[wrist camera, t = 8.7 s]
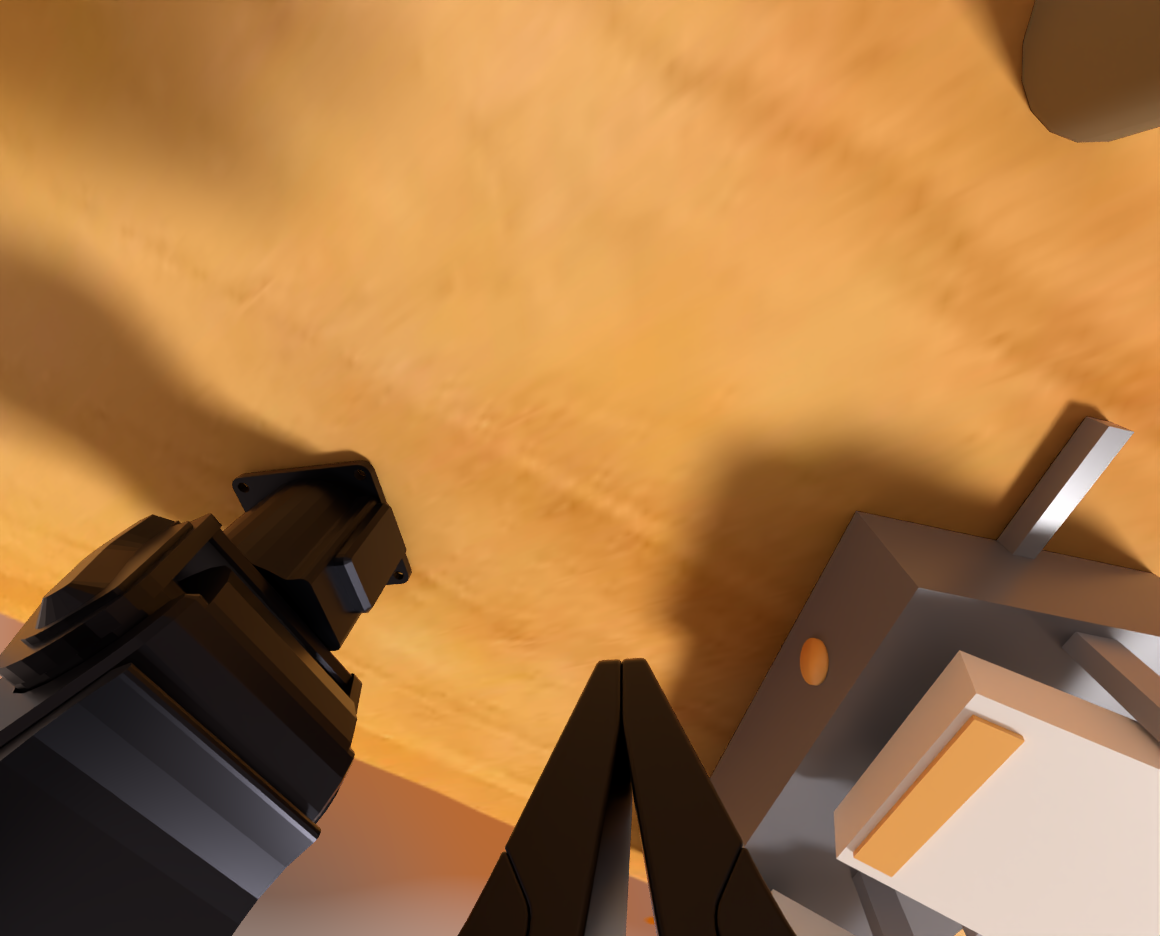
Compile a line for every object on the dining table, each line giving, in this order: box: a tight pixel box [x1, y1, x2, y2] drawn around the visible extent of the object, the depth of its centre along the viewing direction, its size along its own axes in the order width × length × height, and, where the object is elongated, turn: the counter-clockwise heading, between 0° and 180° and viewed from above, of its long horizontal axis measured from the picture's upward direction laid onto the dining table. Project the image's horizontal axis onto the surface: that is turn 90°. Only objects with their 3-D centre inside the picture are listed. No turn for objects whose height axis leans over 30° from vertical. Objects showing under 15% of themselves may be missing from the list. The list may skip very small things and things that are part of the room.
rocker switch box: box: [710, 416, 1160, 936], centre depth 24 cm, size 14×36×10 cm, turn 168°
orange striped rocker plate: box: [834, 650, 1160, 936], centre depth 17 cm, size 12×10×2 cm
